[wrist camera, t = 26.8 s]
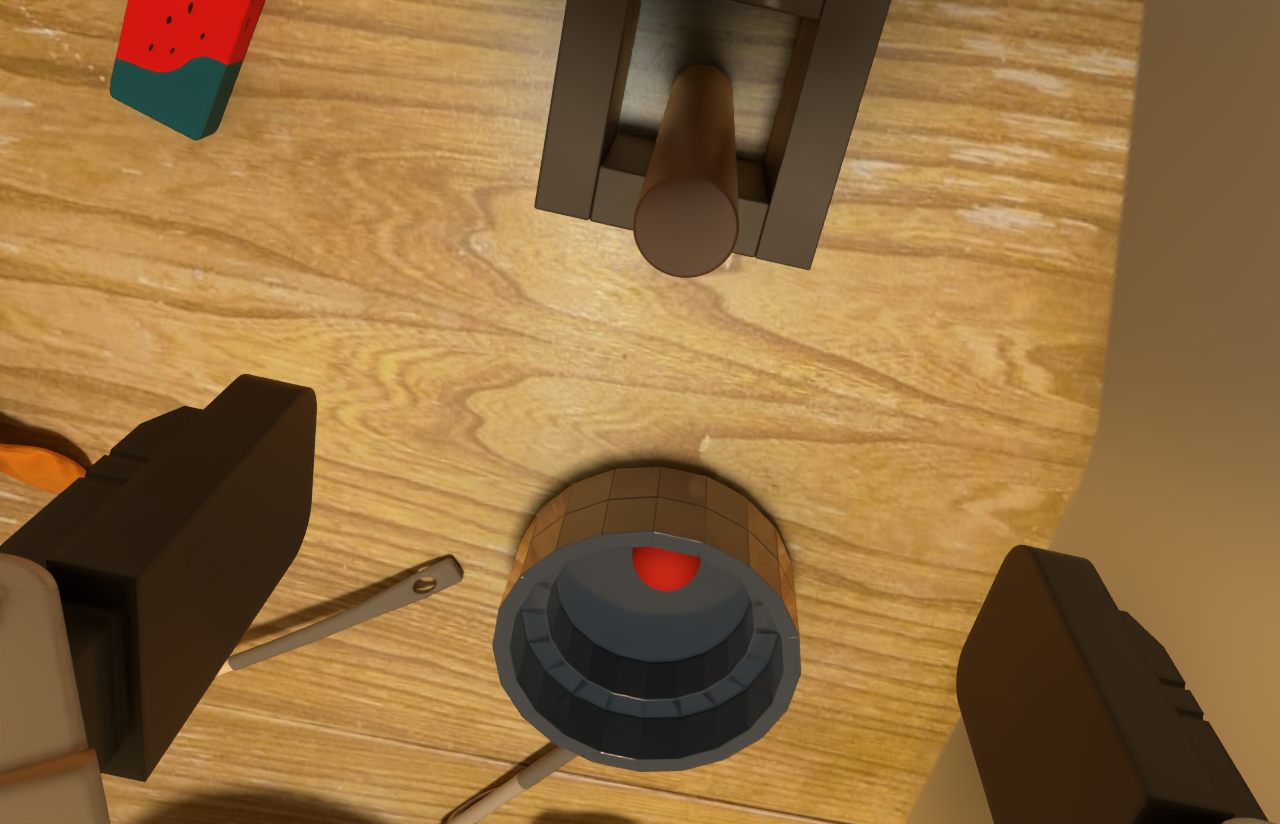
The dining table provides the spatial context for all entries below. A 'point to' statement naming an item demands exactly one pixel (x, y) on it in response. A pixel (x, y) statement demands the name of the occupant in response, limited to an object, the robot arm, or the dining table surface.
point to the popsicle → (182, 59)
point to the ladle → (352, 615)
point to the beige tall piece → (39, 467)
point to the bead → (664, 567)
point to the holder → (767, 194)
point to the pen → (511, 787)
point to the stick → (691, 179)
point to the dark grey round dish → (649, 623)
